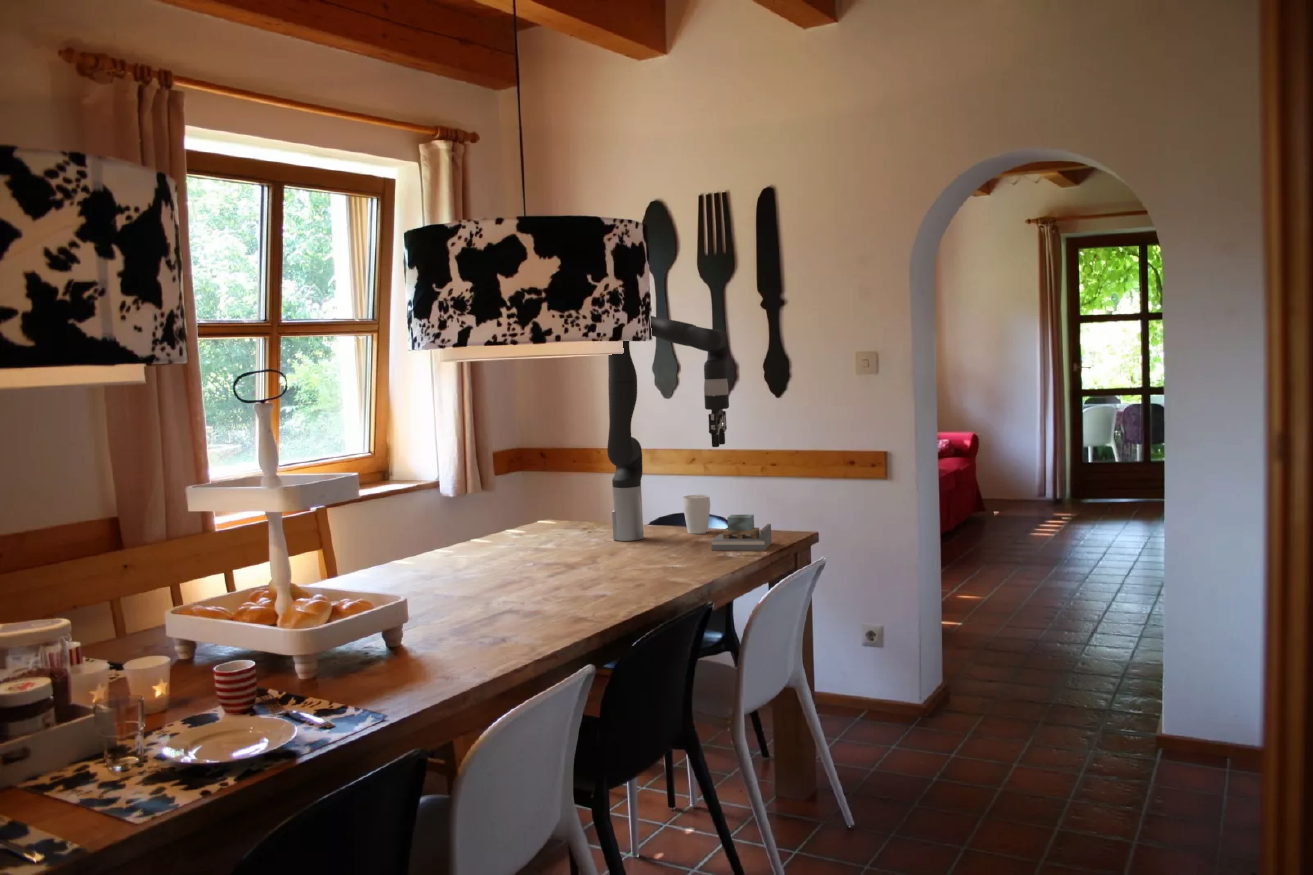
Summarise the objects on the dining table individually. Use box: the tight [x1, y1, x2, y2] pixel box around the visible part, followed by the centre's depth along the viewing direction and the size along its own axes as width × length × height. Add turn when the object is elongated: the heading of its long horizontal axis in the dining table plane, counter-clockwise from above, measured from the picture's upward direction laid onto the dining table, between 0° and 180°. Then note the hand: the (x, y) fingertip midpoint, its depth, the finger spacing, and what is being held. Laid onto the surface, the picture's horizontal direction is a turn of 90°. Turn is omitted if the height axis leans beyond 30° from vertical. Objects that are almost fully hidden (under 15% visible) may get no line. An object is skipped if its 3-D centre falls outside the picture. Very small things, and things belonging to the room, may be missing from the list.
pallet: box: [722, 514, 760, 539], centre depth 320 cm, size 10×6×6 cm, turn 74°
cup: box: [682, 494, 711, 535], centre depth 350 cm, size 9×9×12 cm
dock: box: [711, 523, 773, 552], centre depth 320 cm, size 16×12×6 cm
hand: (718, 445), depth 329 cm, fingers open, 8 cm apart
